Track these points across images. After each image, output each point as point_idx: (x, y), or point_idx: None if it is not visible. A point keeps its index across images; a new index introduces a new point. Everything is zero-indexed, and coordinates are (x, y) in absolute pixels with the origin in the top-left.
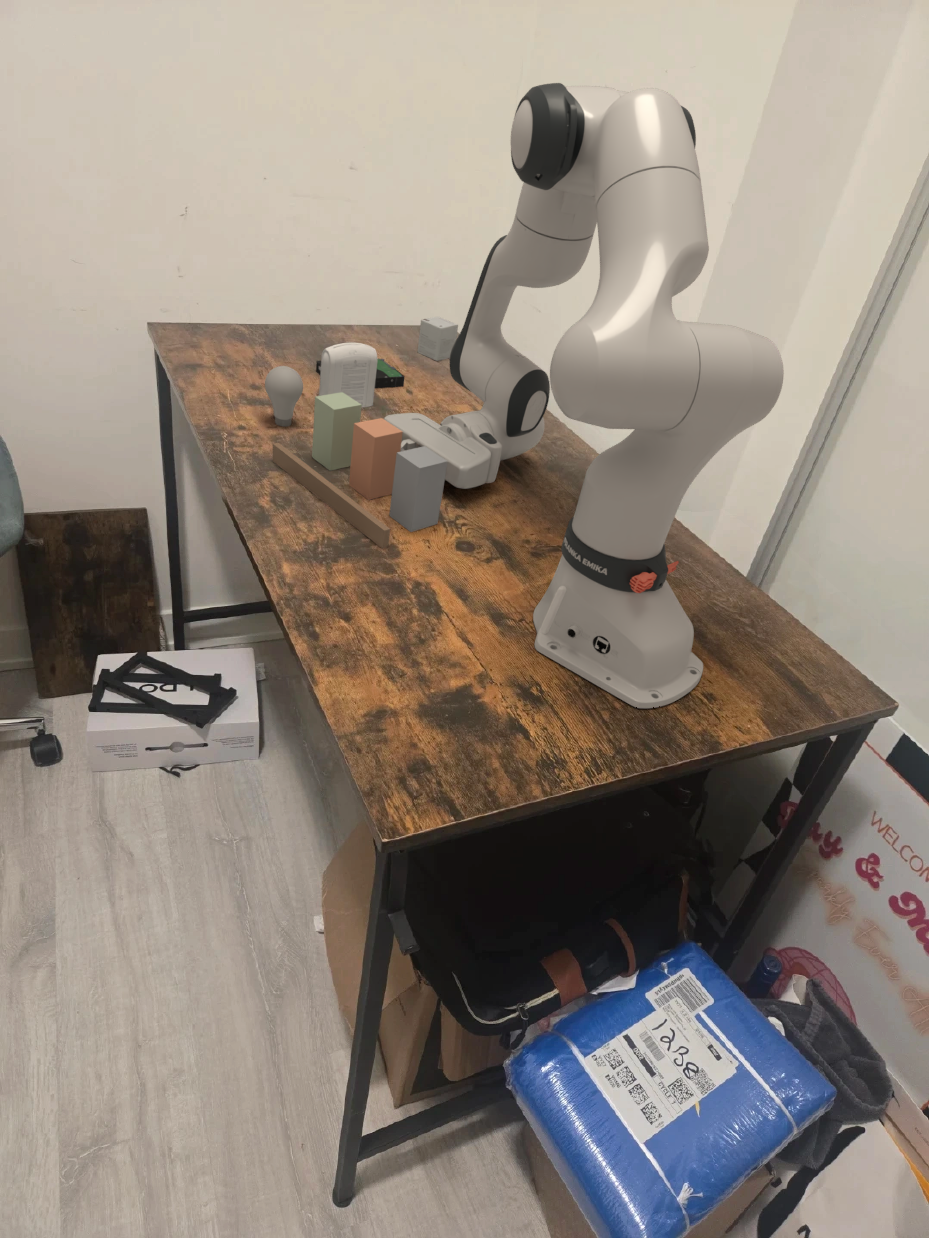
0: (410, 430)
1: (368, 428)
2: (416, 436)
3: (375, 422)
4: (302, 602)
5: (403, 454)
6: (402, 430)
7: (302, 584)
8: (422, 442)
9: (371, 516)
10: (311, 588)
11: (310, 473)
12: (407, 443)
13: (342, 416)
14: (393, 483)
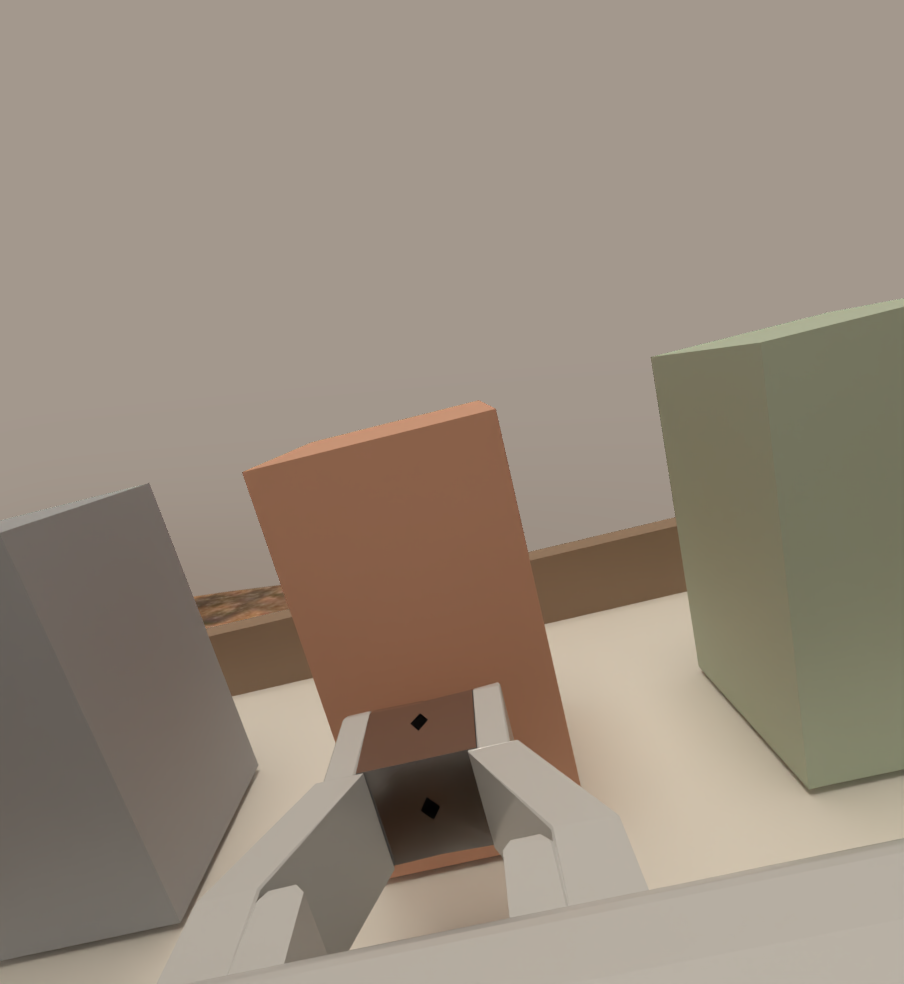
0: (868, 957)
1: (401, 421)
2: (557, 951)
3: (446, 414)
4: (242, 602)
5: (111, 493)
6: (892, 841)
7: (272, 604)
8: (330, 954)
9: (225, 629)
10: (253, 611)
11: (534, 552)
12: (540, 843)
13: (683, 405)
14: (202, 626)
